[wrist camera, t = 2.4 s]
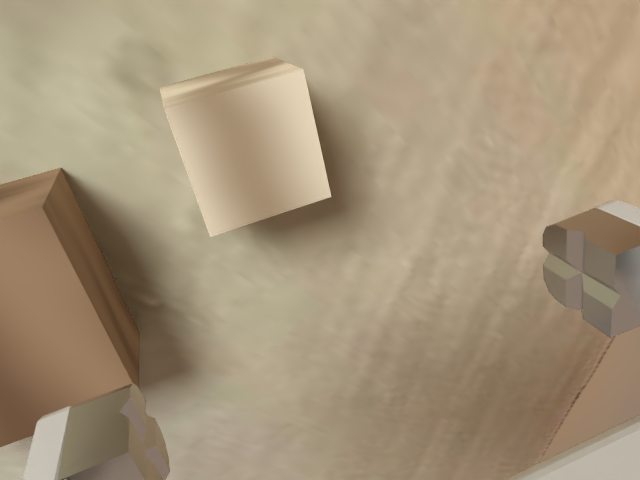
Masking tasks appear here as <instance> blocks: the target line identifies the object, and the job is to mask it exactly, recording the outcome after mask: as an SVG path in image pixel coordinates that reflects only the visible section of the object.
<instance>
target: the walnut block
mask: <svg viewBox="0 0 640 480" xmlns="http://www.w3.org/2000/svg"><path fill="white" fill-rule="evenodd" d="M132 383H133V384H135V385H136V386H138V388H139V331H138V329H137V327H136V324H135V322H134V320H133V318H132V316H131V314H130V312H129V310H128V308H127V306H126V303H125V301H124V299H123V297H122V295H121V293H120V291H119V289H118V287H117V285H116V282H115V280H114V278H113V276H112V274H111V272H110V270H109V268H108V266H107V263H106V261H105V259H104V257H103V255H102V253H101V251H100V249H99V247H98V245H97V242H96V240H95V238H94V236H93V234H92V232H91V230H90V228H89V226H88V223H87V221H86V219H85V217H84V215H83V213H82V211H81V209H80V207H79V205H78V202H77V200H76V198H75V196H74V194H73V192H72V190H71V188H70V186H69V184H68V181H67V179H66V177H65V175H64V173H63V171H62V169H61V168H58V169H55V170H51V171H48V172H44V173H41V174H37V175H33V176H30V177H26V178H23V179H19V180H16V181H12V182H9V183H5V184H2V185H0V447H2V446H5V445H7V444H10V443H13V442H15V441H18V440H21V439H24V438H26V437H29V436H32V435H34V432H35V428H36V424H37V422H38V420H39V419H40V418H41V417H42V416H44V415H47V414H49V413H52V412H55V411H57V410H60V409H63V408H65V407H68V406H73V405H74V404H76V403H79V402H82V401H85V400H87V399H90V398H93V397H96V396H98V395H101V394H104V393H107V392H110V391H112V390H115V389H118V388H121V387H124V386H126V385H129V384H132Z"/></svg>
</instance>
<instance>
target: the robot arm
mask: <svg viewBox="0 0 640 480" xmlns="http://www.w3.org/2000/svg"><path fill="white" fill-rule="evenodd" d="M543 247H544V248H545V249H546V250H547V251H548V252H549V254H548V256H547V258H546V260H545V262H544V264H543V277H544V281H545V284H546V286H547V288H548V290H549V292H550V293H551V294H552V296H553V297H554V298H555V299H556V300H557V301H558V302H560V303H561V304H562V305H564V306H565V307H569V308H573V309H578V310H581V313H582V317H583V319H584V320H585V321H587V322H588V323H590V324H591V325H593V326H594V327H595V328H597V329H598V330H600V331H601V332H603V333H604V334H606V335H607V336H609V337H610V338H611V337H614V336H616V335H619V334H621V333H624V332H626V331H629V330H631V329H633V328H636V327H638V326H640V208H638V207H635V206H633V205H630V204H628V203H625V202H622V201H620V200H610V201H608V202H605V203H603V204H601V205H598V206H596V207H593V208H591V209H589V210H588V211H586V212H583V213H580V214H578V215H575V216H573V217H570V218H568V219H565V220H562V221H560V222H557V223H555V224H552V225H550V226H547V227H546V228H545V231H544V233H543ZM169 473H170V468H169V457H168V453H167V448H166V444H165V440H164V438H163V435H162V432H161V430H160V428H159V426H158V424H157V422H156V420H155V418H152V417H150V416H147V415H146V404H145V399H144V397H143V395H142V393H141V391H140V390H139V388H138V386H136V385H135V384H133V383H132V384H129V385H126V386H124V387H121V388H118V389H115V390H112V391H110V392H107V393H104V394H101V395H98V396H96V397H93V398H90V399H87V400H85V401H82V402H79V403H76V404H74V405H73V406H68V407H65V408H63V409H60V410H57V411H55V412H52V413H49V414H47V415H44V416H42V417H41V418H40V419H39V420H38V422H37V424H36V428H35V432H34V436H33V440H32V443H31V447H30V451H29V455H28V459H27V463H26V467H25V471H24V475H23V479H22V480H166V478H167V476H168V474H169ZM504 480H640V415H638V416H636V417H634V418H632V419H630V420H627V421H625V422H623V423H621V424H619V425H617V426H615V427H613V428H611V429H609V430H607V431H605V432H602V433H601V434H598V435H596V436H594V437H592V438H590V439H588V440H586V441H584V442H581V443H580V444H577V445H575V446H573V447H571V448H569V449H567V450H565V451H563V452H561V453H558V454H556V455H554V456H552V457H550V458H548V459H546V460H544V461H542V462H540V463H538V464H535V465H533V466H531V467H529V468H527V469H525V470H523V471H521V472H519V473H517V474H515V475H512V476H510V477H508V478H506V479H504Z"/></svg>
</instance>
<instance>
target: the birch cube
mask: <svg viewBox="0 0 640 480" xmlns="http://www.w3.org/2000/svg"><path fill="white" fill-rule="evenodd" d="M160 92H161V96H162V101H163V106H164V110H165V113H166V116H167V118H168V121H169V124H170V127H171V130H172V132H173V135H174V138H175V141H176V143H177V146H178V149H179V152H180V154H181V157H182V160H183V163H184V166H185V168H186V171H187V174H188V177H189V179H190V182H191V185H192V188H193V190H194V193H195V196H196V199H197V202H198V204H199V207H200V210H201V213H202V215H203V218H204V221H205V224H206V226H207V229H208V232H209V235H210V237H212V236H215V235H218V234H221V233H224V232H227V231H230V230H233V229H236V228H239V227H242V226H245V225H248V224H251V223H254V222H257V221H260V220H263V219H266V218H269V217H272V216H275V215H278V214H281V213H284V212H287V211H290V210H293V209H296V208H299V207H302V206H305V205H308V204H311V203H314V202H317V201H320V200H323V199H326V198H329V197H331V192H330V188H329V183H328V179H327V174H326V170H325V165H324V160H323V156H322V151H321V147H320V142H319V138H318V133H317V129H316V124H315V119H314V115H313V110H312V106H311V101H310V97H309V92H308V87H307V83H306V78H305V74H304V70H303V69H301V68H298V67H296V66H294V65H291V64H289V63H287V62H284V61H282V60H280V59H277V58H275V57H269V58H265V59H262V60H258V61H254V62H251V63H247V64H243V65H240V66H236V67H232V68H229V69H225V70H222V71H218V72H214V73H211V74H207V75H203V76H200V77H196V78H192V79H189V80H185V81H181V82H178V83H174V84H170V85H167V86H163V87H160Z"/></svg>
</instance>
